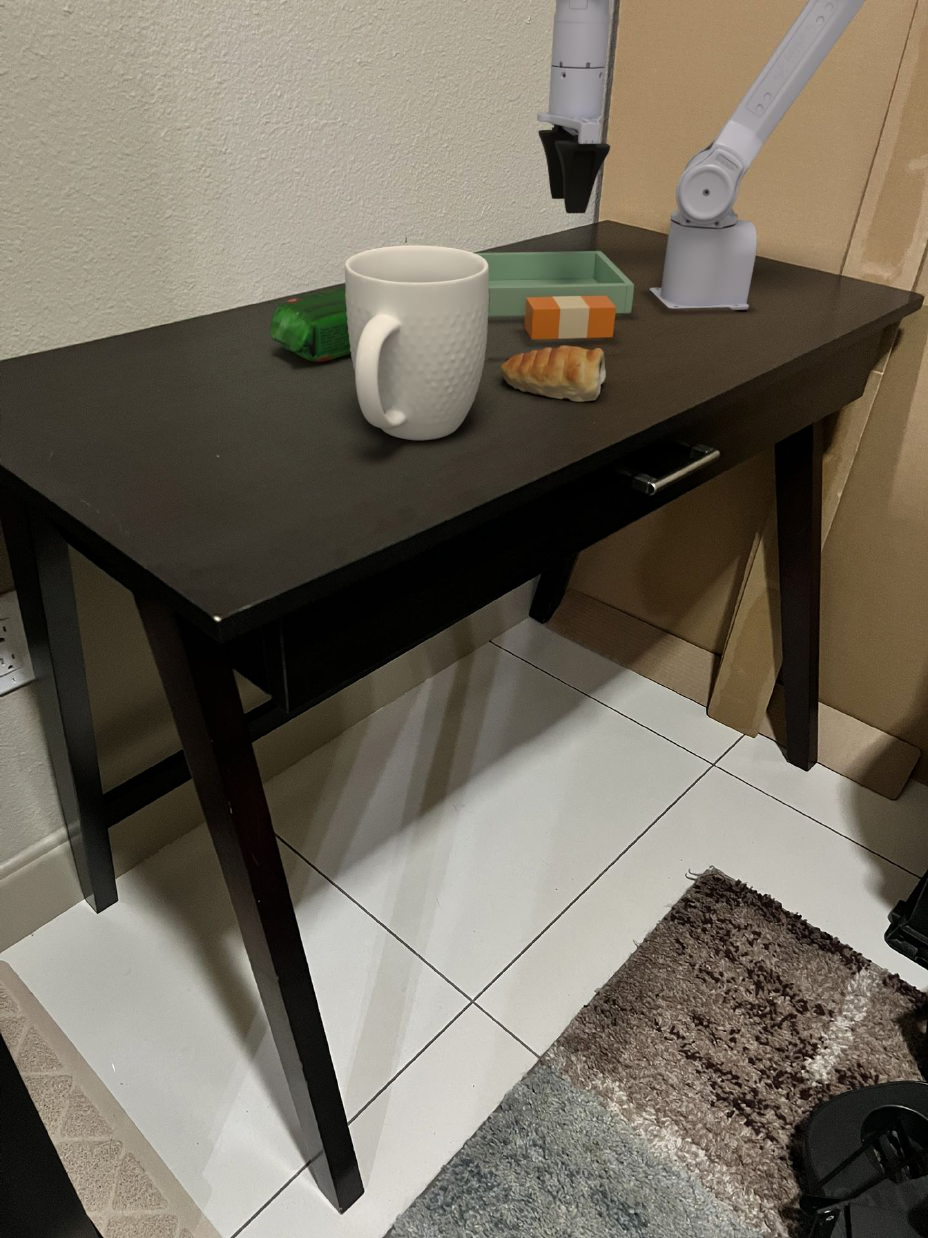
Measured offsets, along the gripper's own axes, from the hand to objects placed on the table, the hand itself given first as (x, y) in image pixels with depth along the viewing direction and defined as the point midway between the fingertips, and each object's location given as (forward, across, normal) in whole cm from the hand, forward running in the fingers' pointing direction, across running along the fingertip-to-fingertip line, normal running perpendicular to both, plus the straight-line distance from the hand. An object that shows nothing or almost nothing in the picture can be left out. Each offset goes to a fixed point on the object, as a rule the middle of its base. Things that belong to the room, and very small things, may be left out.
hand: (567, 205), depth 105 cm
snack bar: (+9, +17, -3) cm, 20 cm away
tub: (+9, +4, -3) cm, 11 cm away
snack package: (+10, +18, -26) cm, 33 cm away
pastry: (+10, +31, -7) cm, 33 cm away
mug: (+10, +39, -21) cm, 45 cm away
